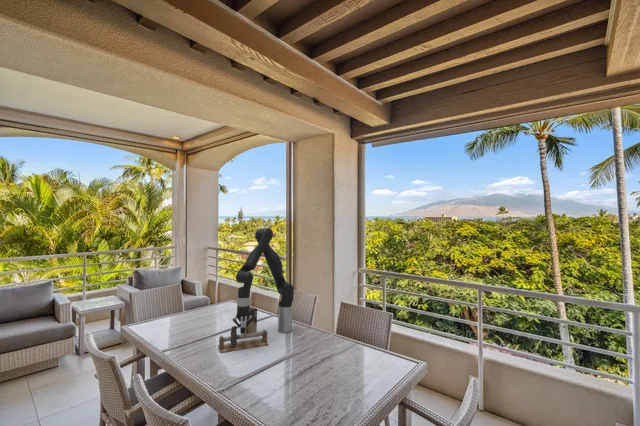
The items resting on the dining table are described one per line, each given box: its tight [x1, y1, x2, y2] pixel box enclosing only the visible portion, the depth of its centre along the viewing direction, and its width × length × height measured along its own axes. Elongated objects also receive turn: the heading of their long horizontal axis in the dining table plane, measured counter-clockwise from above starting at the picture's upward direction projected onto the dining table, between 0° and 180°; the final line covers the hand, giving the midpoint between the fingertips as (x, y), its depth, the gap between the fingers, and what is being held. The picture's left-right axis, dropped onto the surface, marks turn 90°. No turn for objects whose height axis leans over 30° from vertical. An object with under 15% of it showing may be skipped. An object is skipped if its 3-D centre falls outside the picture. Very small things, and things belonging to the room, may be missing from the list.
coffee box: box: [239, 306, 258, 335], centre depth 192 cm, size 9×6×16 cm
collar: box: [229, 325, 238, 347], centre depth 169 cm, size 2×7×10 cm, turn 26°
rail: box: [217, 329, 269, 354], centre depth 172 cm, size 28×10×7 cm, turn 116°
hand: (242, 333), depth 172 cm, fingers closed
